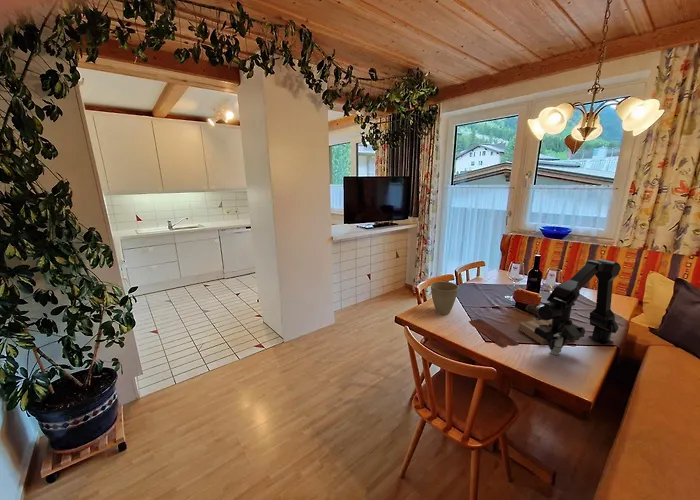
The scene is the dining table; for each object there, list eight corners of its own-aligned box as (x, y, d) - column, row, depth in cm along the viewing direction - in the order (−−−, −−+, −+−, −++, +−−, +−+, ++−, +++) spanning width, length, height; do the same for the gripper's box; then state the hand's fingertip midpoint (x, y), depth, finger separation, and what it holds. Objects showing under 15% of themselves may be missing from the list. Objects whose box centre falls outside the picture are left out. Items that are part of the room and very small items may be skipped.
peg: (554, 349, 127) (557, 333, 125) (562, 355, 123) (566, 338, 121) (546, 350, 126) (549, 334, 124) (554, 356, 122) (557, 339, 120)
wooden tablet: (520, 346, 132) (520, 342, 131) (501, 349, 129) (502, 345, 129) (481, 319, 157) (482, 316, 156) (465, 321, 155) (465, 318, 154)
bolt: (524, 311, 169) (544, 322, 155) (518, 307, 168) (538, 318, 154) (530, 302, 169) (550, 313, 154) (523, 299, 168) (544, 309, 153)
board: (549, 326, 148) (550, 319, 147) (574, 340, 134) (576, 332, 133) (518, 329, 145) (519, 322, 144) (541, 344, 131) (542, 336, 130)
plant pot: (434, 304, 175) (435, 279, 171) (459, 310, 167) (461, 284, 163) (425, 313, 163) (426, 287, 159) (451, 320, 155) (454, 292, 151)
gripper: (558, 327, 111) (552, 362, 115) (599, 322, 114) (592, 357, 118) (535, 314, 122) (530, 347, 125) (573, 310, 125) (567, 342, 129)
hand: (555, 348), depth 124 cm, fingers closed on peg, 4 cm apart
